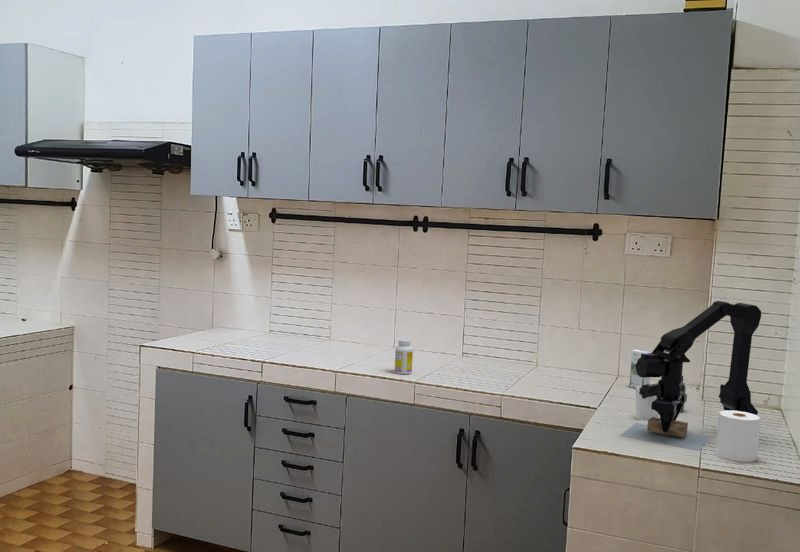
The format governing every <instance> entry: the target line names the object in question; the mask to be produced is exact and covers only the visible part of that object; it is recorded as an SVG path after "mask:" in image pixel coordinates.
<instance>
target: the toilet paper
mask: <svg viewBox="0 0 800 552" xmlns="http://www.w3.org/2000/svg"><path fill="white" fill-rule="evenodd" d="M717 415H718V416H717V427H716V441H715V453H716V455H717V456H718V457H721V458H723V459H726V460H730V461H735V462H741V463H742V462H743V463H747V462H754V461H756V460H758V451H759V440H760V439H759V438H760V429H761V428H760V427H761V417H760V416H758V414H757V415H754V414H751V413H748V412H741V411H735V410H724V409H723V410H721V411H718V414H717Z"/></svg>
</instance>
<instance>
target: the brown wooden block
mask: <svg viewBox="0 0 800 552" xmlns="http://www.w3.org/2000/svg"><path fill="white" fill-rule="evenodd" d="M647 425H648V428H647V431H651V432H657V433H663V434H668V435H674V436H679V437H683V436H684V435H685V434H686V433H687V432H688V427H689V426H688V425H689V422H687V421H682V420H681V421H680V420H677V419H676V420H673V421H672V423H671V425H670V427H669V429H668V431H667V432H663V429H662V424H661V419H660V417H652V418H651V419H649V420H648V421H647Z"/></svg>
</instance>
